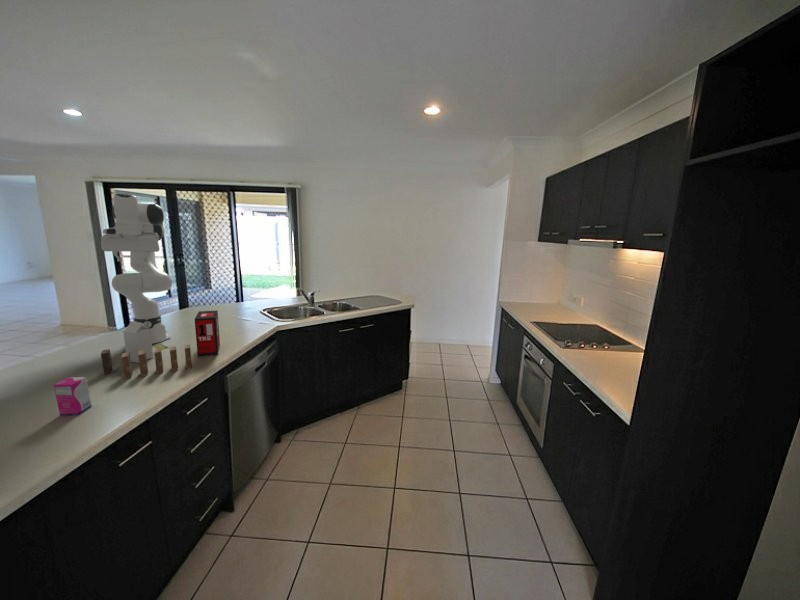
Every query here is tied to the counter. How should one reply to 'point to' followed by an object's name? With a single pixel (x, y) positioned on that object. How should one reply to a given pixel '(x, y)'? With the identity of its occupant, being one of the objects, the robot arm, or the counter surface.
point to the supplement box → (72, 396)
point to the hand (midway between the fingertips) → (133, 261)
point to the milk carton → (137, 340)
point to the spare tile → (106, 362)
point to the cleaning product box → (207, 333)
